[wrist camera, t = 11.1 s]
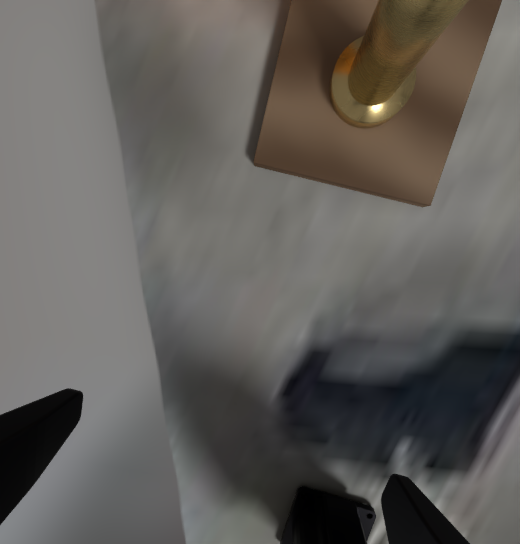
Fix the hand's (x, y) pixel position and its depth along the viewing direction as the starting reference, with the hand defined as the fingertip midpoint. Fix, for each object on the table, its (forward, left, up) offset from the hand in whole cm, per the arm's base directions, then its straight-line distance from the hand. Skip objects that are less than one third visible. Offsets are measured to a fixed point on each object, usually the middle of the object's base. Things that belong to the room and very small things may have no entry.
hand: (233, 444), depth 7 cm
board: (+16, -3, -13) cm, 21 cm away
